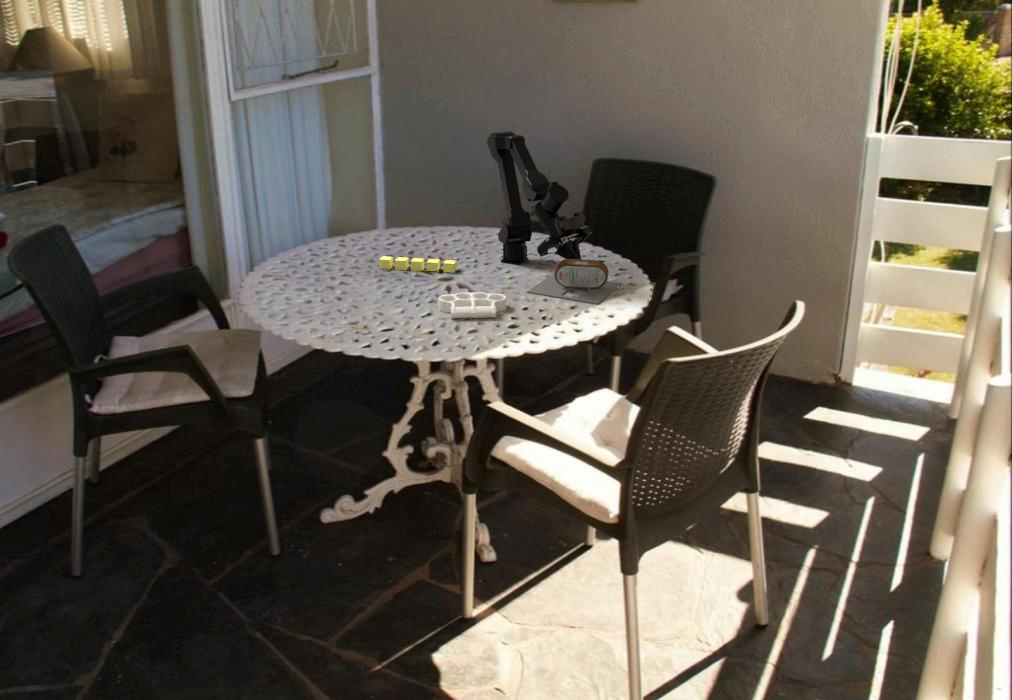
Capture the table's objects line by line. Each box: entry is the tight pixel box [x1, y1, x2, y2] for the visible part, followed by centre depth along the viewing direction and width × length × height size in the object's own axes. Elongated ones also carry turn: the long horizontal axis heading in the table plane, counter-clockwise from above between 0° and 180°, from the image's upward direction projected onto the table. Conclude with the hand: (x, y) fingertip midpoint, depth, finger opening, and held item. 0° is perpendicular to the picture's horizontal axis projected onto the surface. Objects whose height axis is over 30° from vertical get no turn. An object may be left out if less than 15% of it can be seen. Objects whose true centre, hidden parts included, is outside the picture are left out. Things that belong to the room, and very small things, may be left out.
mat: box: [526, 272, 623, 306], centre depth 283 cm, size 21×19×1 cm
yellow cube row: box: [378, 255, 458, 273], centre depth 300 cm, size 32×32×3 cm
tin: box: [554, 258, 610, 289], centre depth 280 cm, size 15×3×8 cm, turn 84°
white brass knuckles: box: [438, 291, 507, 320], centre depth 266 cm, size 3×18×15 cm
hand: (581, 265), depth 280 cm, fingers closed
